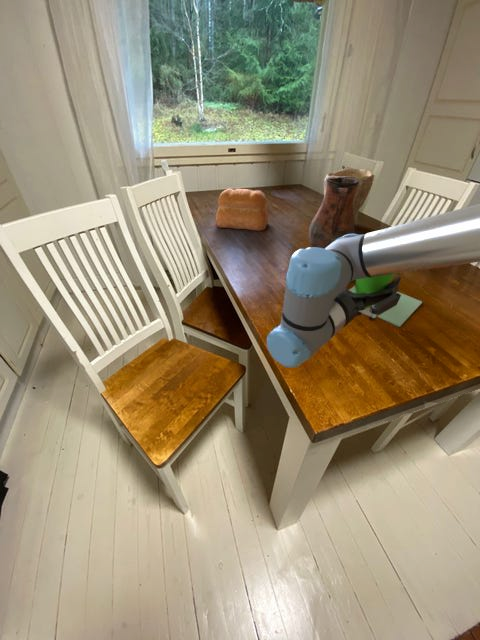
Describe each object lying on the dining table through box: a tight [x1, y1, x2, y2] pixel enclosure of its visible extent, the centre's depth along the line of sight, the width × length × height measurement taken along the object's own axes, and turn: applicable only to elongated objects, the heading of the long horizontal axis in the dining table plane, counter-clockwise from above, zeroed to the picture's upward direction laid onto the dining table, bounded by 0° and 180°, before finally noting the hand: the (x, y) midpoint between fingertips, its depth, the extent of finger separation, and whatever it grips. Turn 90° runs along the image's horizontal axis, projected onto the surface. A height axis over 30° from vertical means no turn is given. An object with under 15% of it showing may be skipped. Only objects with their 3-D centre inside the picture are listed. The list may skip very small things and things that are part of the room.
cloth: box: [348, 285, 423, 328], centre depth 89 cm, size 20×18×1 cm
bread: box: [215, 188, 269, 232], centre depth 137 cm, size 16×26×17 cm, turn 78°
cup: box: [354, 274, 396, 308], centre depth 64 cm, size 9×9×11 cm
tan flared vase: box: [323, 167, 375, 218], centre depth 138 cm, size 22×22×25 cm
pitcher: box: [308, 177, 359, 249], centre depth 101 cm, size 17×21×30 cm
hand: (379, 275), depth 66 cm, fingers closed on cup, 8 cm apart
